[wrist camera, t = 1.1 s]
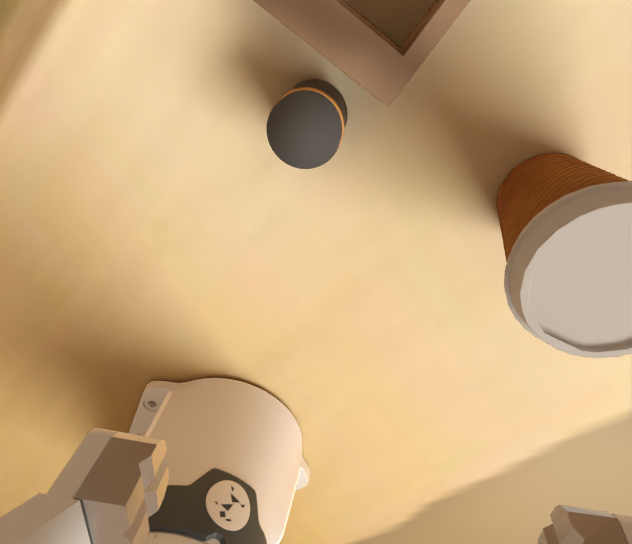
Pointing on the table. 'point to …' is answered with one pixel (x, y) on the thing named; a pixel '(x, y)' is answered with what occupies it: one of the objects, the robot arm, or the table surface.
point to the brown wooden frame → (365, 40)
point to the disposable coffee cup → (569, 254)
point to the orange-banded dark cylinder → (307, 124)
